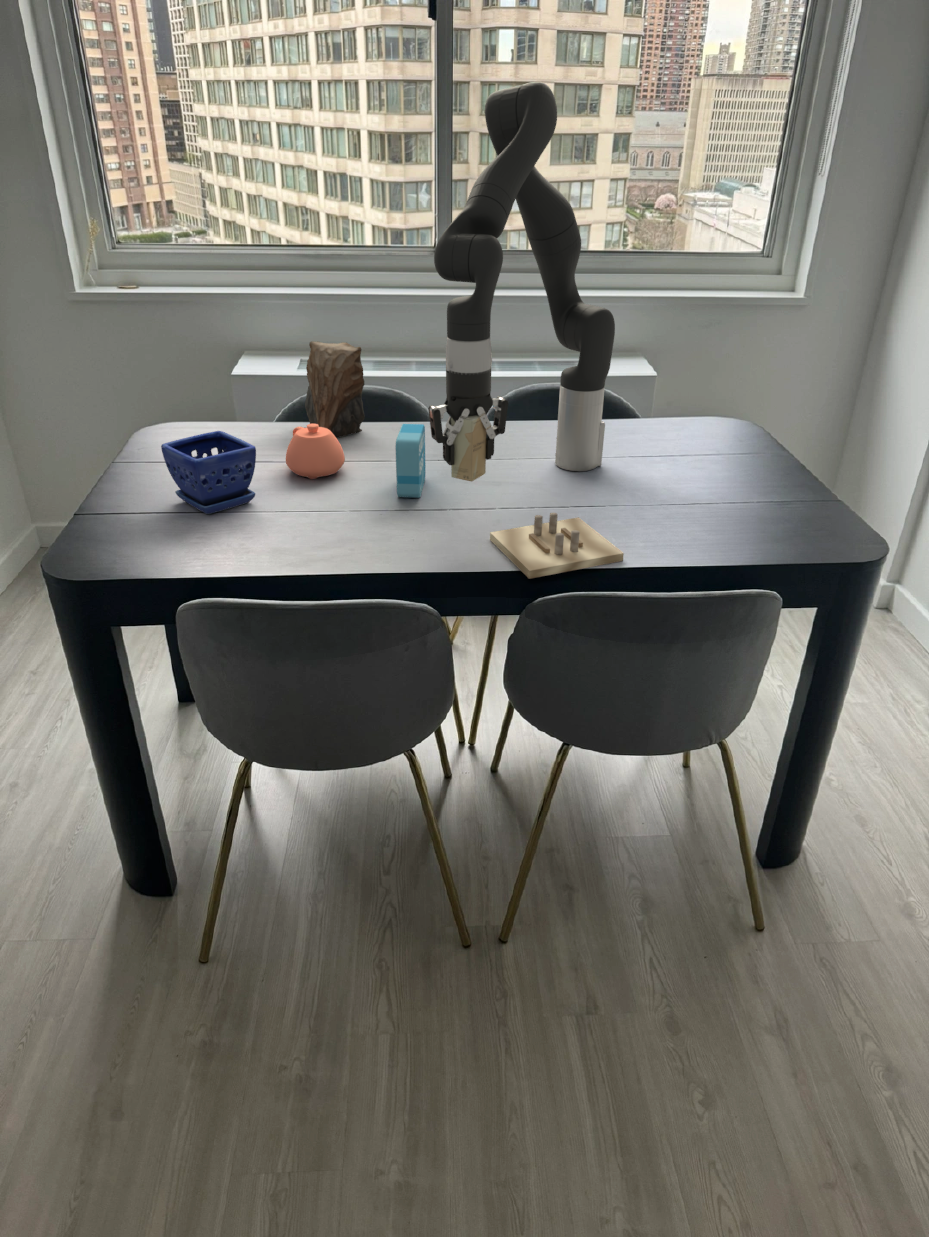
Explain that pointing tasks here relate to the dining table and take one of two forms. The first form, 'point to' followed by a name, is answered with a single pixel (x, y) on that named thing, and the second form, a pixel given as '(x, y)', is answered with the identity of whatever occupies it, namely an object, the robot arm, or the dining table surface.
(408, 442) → the data package
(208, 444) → the flower pot
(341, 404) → the owl
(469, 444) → the box
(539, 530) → the tray
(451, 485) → the dining table surface
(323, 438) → the sugar bowl
